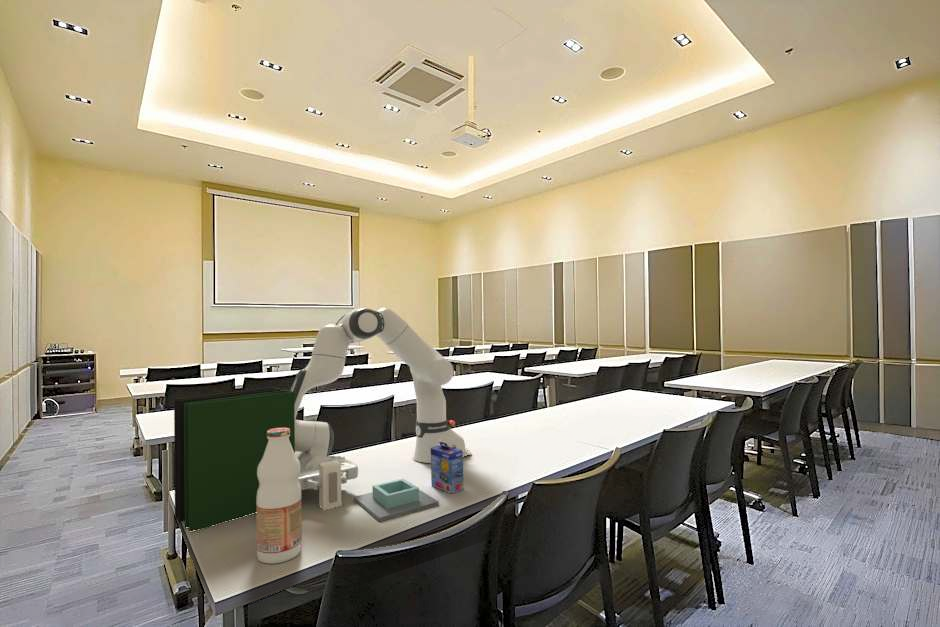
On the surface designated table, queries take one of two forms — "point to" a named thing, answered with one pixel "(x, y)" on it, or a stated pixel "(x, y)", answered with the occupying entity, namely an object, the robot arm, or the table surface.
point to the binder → (224, 451)
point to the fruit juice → (278, 500)
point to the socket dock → (395, 500)
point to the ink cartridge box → (447, 468)
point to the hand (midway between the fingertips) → (331, 483)
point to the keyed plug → (330, 484)
